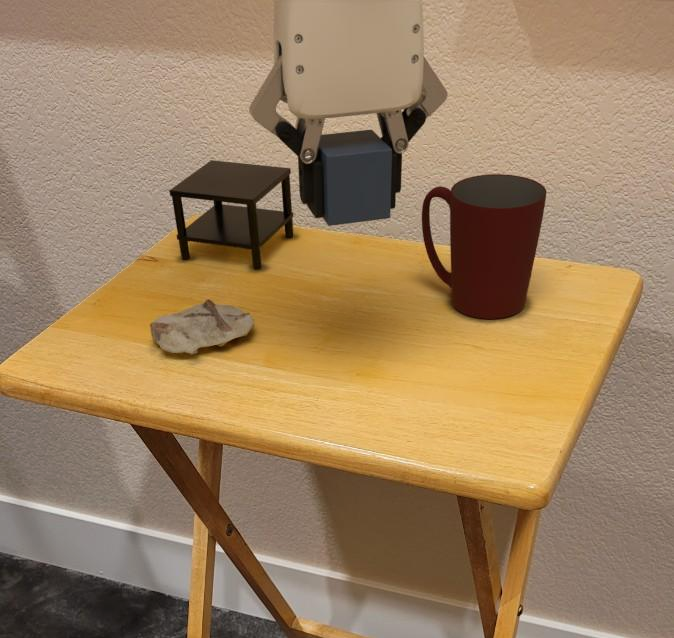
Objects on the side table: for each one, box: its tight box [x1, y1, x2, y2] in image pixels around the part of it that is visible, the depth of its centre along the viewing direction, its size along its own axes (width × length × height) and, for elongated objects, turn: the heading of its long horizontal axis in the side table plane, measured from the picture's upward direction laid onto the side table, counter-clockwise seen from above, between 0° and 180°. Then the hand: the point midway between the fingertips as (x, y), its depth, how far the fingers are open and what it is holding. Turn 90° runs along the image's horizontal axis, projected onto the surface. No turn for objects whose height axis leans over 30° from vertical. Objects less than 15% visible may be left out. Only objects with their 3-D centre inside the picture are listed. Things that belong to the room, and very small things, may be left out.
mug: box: [421, 173, 547, 320], centre depth 87 cm, size 12×9×11 cm
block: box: [318, 129, 392, 227], centre depth 67 cm, size 5×5×5 cm
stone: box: [149, 298, 255, 355], centre depth 85 cm, size 10×7×3 cm
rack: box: [169, 160, 295, 271], centre depth 99 cm, size 10×10×8 cm
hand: (350, 204), depth 69 cm, fingers closed on block, 5 cm apart
